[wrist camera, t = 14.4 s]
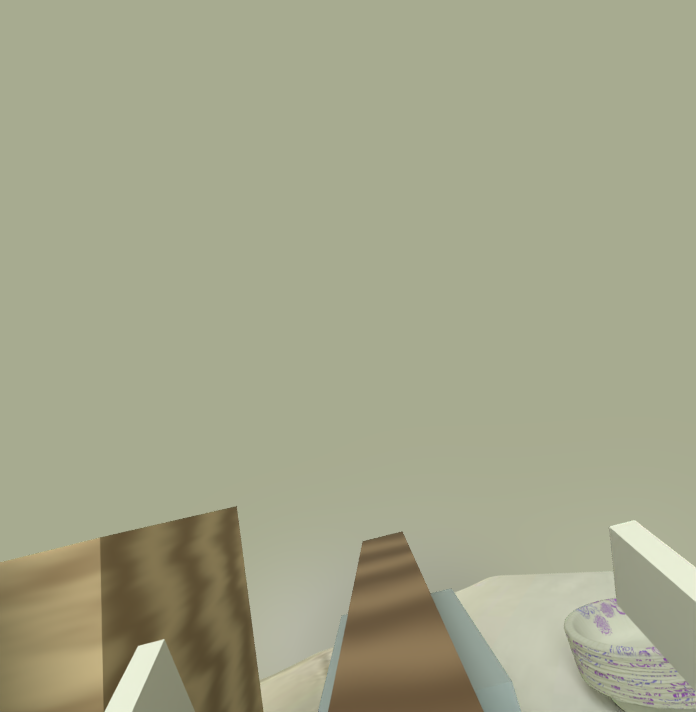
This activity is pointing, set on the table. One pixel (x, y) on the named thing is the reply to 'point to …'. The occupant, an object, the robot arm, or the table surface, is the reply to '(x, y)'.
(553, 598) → the table surface
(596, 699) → the table surface
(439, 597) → the base block
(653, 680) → the paper bowls
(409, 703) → the walnut block
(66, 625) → the tall stand
